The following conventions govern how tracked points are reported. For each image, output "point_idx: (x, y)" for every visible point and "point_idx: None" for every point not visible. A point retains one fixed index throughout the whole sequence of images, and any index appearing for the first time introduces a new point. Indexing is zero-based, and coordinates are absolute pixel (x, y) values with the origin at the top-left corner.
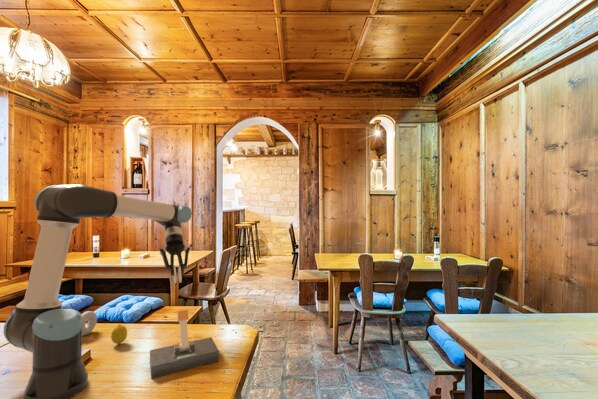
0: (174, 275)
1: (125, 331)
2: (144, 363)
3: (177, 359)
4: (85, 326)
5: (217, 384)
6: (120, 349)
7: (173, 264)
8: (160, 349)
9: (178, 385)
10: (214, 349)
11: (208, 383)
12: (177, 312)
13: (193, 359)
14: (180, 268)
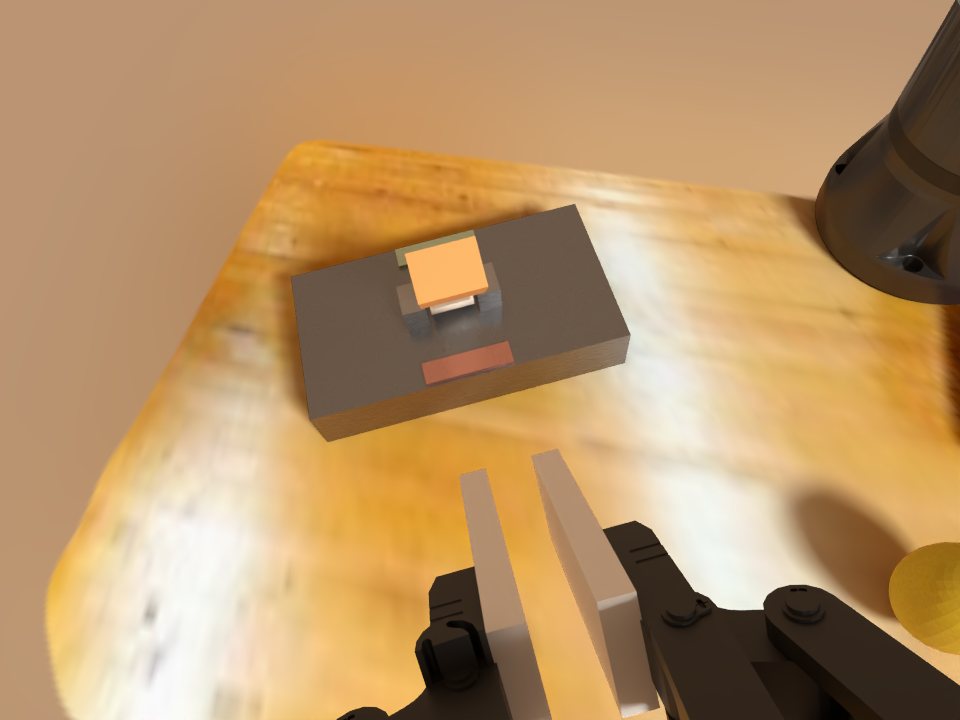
0: (576, 486)
1: (912, 578)
2: (644, 349)
3: (473, 231)
4: None
5: (330, 177)
6: (860, 528)
7: (666, 650)
8: (576, 333)
9: (462, 190)
10: (308, 288)
11: (359, 185)
12: (481, 260)
13: None
14: (486, 596)
